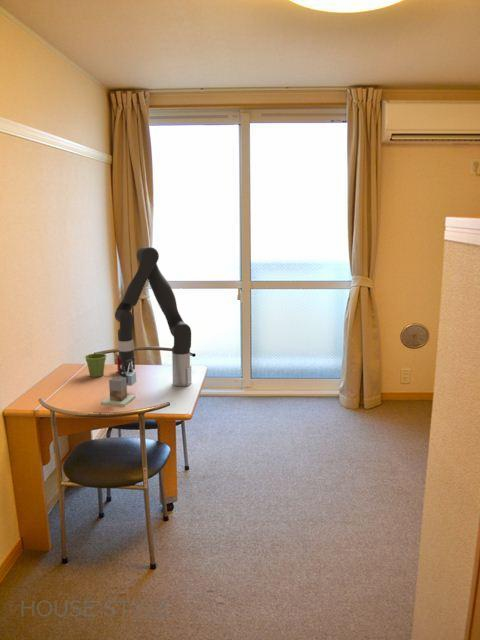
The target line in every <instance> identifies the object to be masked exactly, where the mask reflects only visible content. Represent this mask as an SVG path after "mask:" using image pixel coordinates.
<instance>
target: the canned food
mask: <svg viewBox="0 0 480 640" xmlns="http://www.w3.org/2000/svg"><path fill="white" fill-rule="evenodd" d="M116 361H117V362H116V364H117V366H116V367H117V373H118V374H120V371H119V365H121V364H122V360H121V359H119V351H118V352H117V353H116ZM125 370H127V369H125Z"/></svg>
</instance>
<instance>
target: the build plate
mask: <svg viewBox="0 0 480 640" xmlns="http://www.w3.org/2000/svg"><path fill="white" fill-rule="evenodd" d="M135 398H136V395H135V394H134V395H132V394H127V398H125V399H124V400H123V401H111V400H110V395H109V396H107V397H106V398H104V399H103V400H102V401H101V402H100V403H101V405H107V406H116V405H120V406H119V407H126V406H127V405H128V404H129V403H131V402H132V401H133V400H134V399H135Z"/></svg>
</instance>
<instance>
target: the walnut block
mask: <svg viewBox="0 0 480 640" xmlns="http://www.w3.org/2000/svg"><path fill="white" fill-rule="evenodd" d="M127 395H128V387H127V388H125V389H124V390H122V391H111V390H109V396H110V400H111V401H123V400H124V399H125V398H127Z"/></svg>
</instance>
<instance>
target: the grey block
mask: <svg viewBox="0 0 480 640" xmlns="http://www.w3.org/2000/svg"><path fill="white" fill-rule="evenodd" d="M108 384H109V386H108V388H109V390H108V391H110V390H111V391H122V390H124V389H125V388H127V389H128V386H127V379H126V377H120V376H113V377H112V378H110V379H109V380H108Z"/></svg>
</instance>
